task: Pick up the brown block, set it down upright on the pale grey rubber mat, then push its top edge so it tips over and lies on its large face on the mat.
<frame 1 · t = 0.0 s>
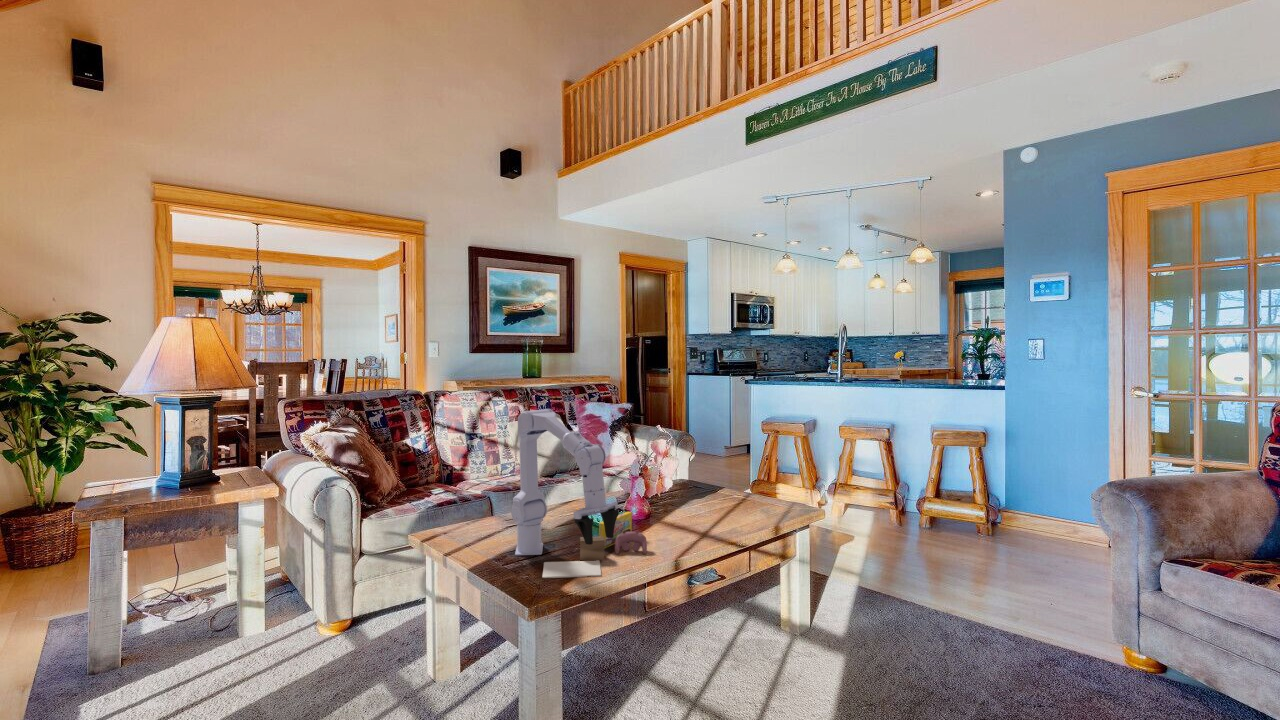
hand: (599, 540, 166), 11 cm above the table, tool pointing down, fingers open, 7 cm apart
candy box: (615, 543, 197), on the table
brown block: (592, 558, 182), on the table
mat: (571, 569, 173), on the table
video game controller: (630, 552, 188), on the table
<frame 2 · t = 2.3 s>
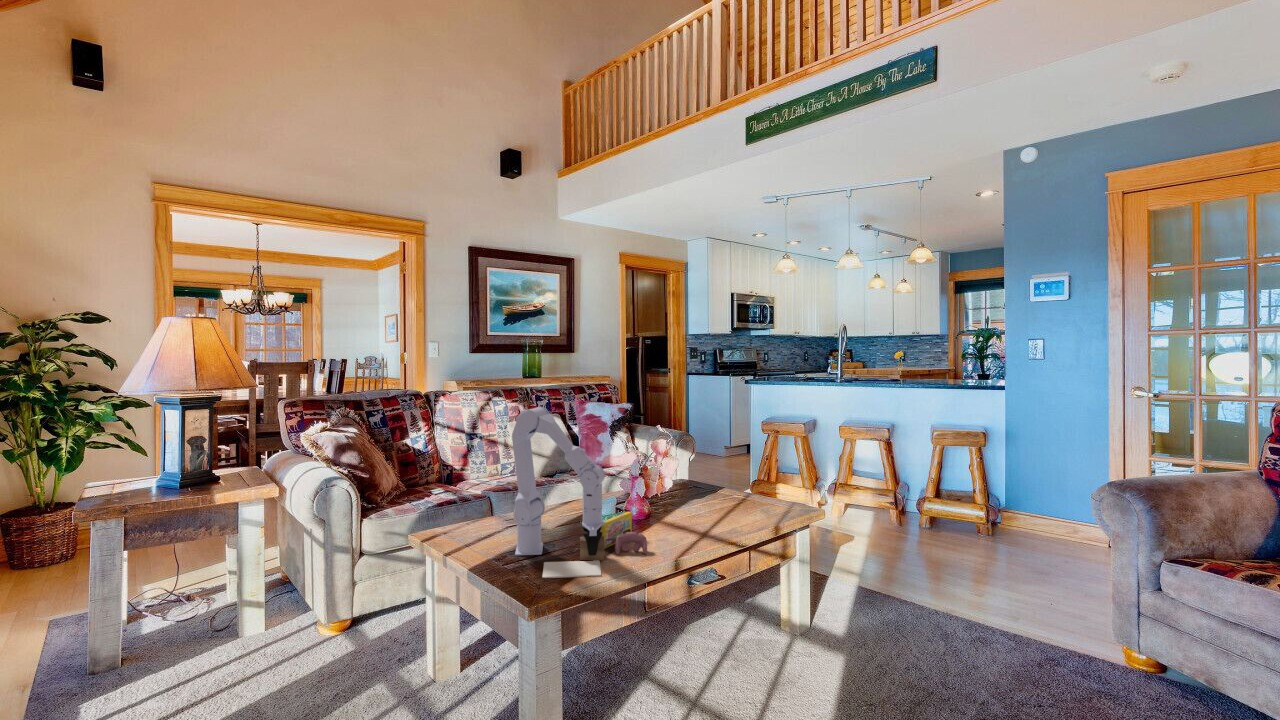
hand: (592, 552, 182), 2 cm above the table, tool pointing down, fingers closed on brown block, 3 cm apart
brown block: (592, 558, 182), on the table, touching gripper
when the fingers open (3 cm above the table, at t = 5.1 s): brown block stays where it is, resting on mat.
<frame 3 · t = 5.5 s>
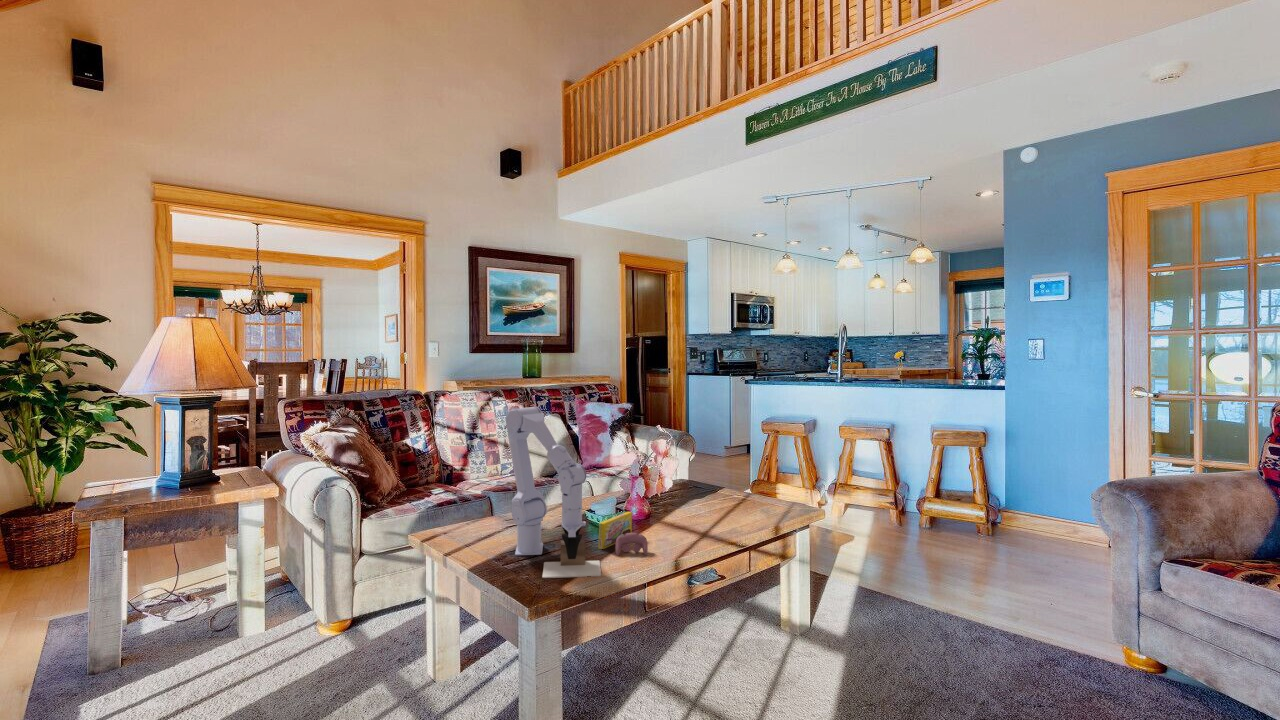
hand: (571, 554, 177), 3 cm above the table, tool pointing down, fingers open, 7 cm apart
brown block: (572, 563, 177), resting on mat
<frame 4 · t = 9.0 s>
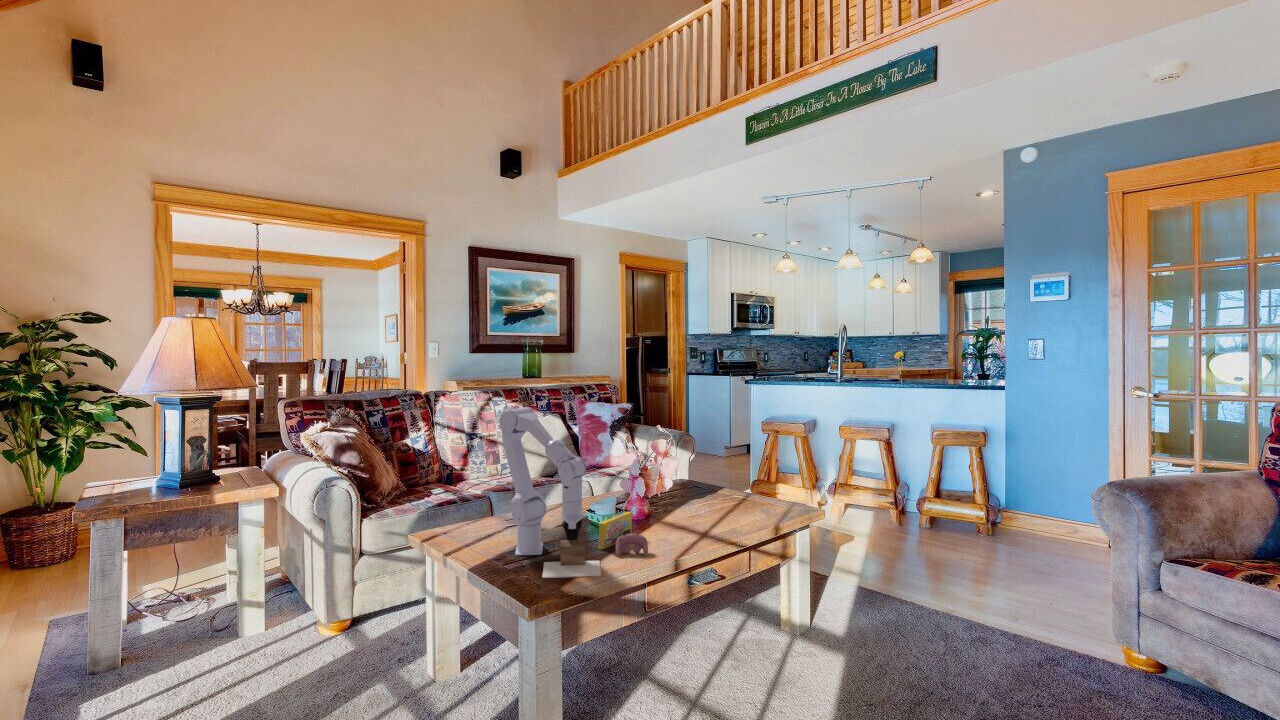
hand: (572, 546, 178), 5 cm above the table, tool pointing down, fingers closed
brown block: (572, 562, 177), point 1 cm above the table, tilted 11°, touching gripper, mat
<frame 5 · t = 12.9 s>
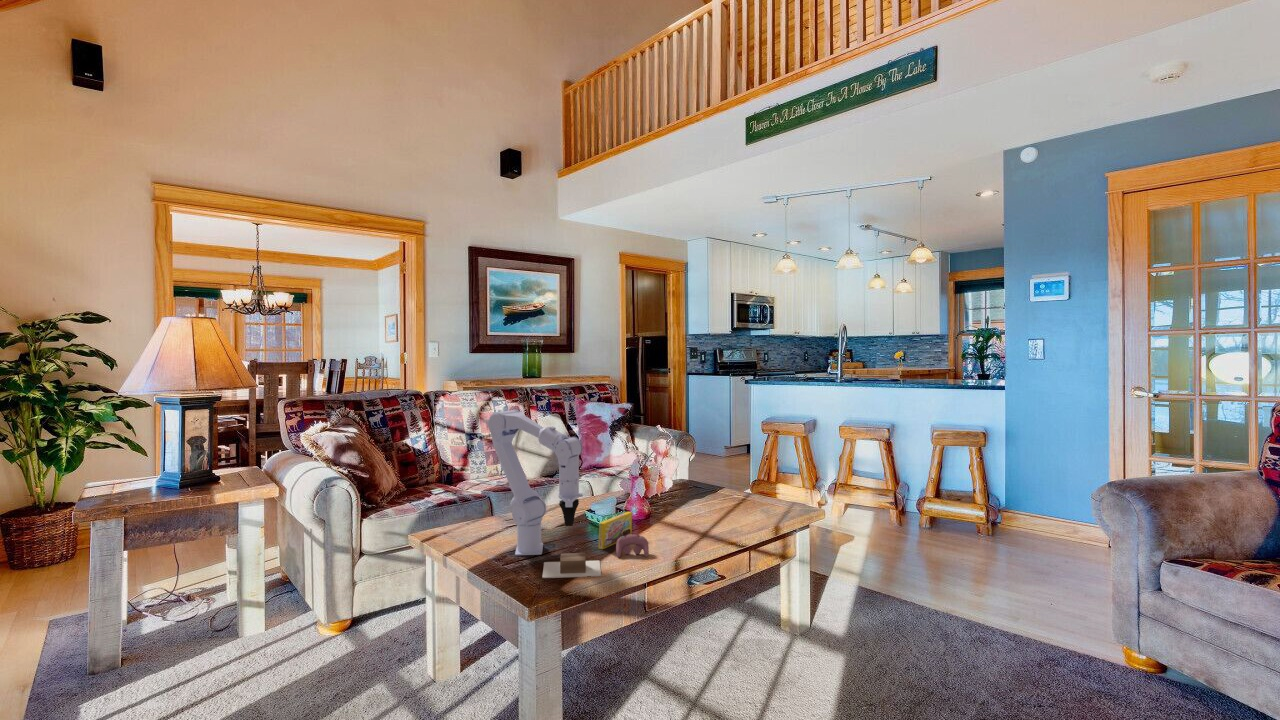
hand: (569, 525, 180), 10 cm above the table, tool pointing down, fingers closed
brown block: (572, 559, 175), point 2 cm above the table, tilted 90°, touching mat
at the end: brown block tilted 90°; brown block inside the target area (3.6 cm from its centre), point 2.1 cm above the table; the gripper is holding nothing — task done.
